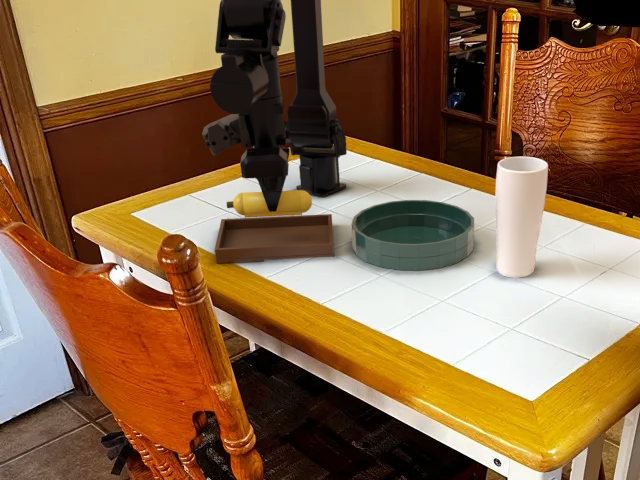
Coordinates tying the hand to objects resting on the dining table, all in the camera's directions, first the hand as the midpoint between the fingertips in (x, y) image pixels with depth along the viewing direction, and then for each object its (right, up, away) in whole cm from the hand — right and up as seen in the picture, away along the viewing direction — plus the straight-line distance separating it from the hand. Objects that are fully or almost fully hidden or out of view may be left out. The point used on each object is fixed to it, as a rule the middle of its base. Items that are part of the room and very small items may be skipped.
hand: (273, 207), depth 125 cm
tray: (0, -5, +3) cm, 6 cm away
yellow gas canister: (0, -1, +1) cm, 1 cm away
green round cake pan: (+21, -5, +2) cm, 22 cm away
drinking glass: (+35, -11, -5) cm, 37 cm away
